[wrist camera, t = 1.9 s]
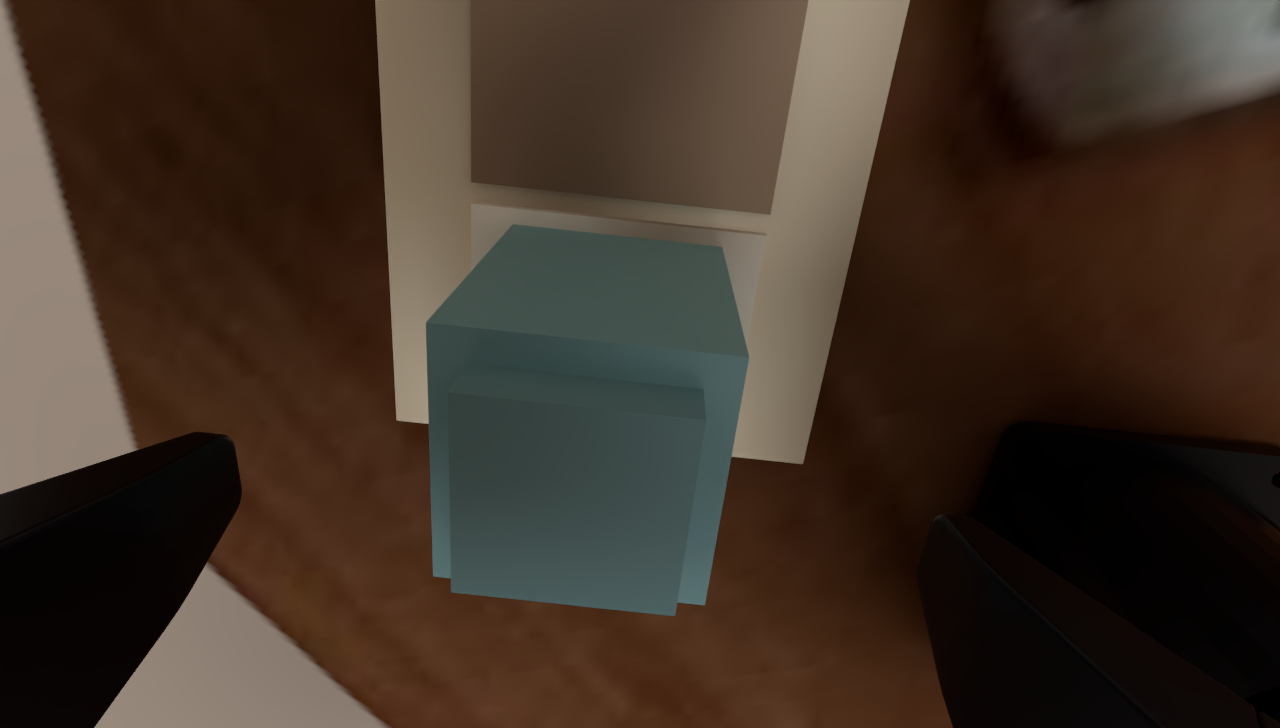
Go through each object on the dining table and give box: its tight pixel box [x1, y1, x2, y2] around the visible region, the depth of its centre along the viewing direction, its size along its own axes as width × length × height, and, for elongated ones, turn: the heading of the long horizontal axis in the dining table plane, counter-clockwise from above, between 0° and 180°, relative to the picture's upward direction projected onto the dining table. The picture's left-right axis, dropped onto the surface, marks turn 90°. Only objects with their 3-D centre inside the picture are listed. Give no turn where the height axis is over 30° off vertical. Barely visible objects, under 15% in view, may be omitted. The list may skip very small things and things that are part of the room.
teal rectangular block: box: [426, 224, 749, 616], centre depth 12 cm, size 4×4×6 cm
